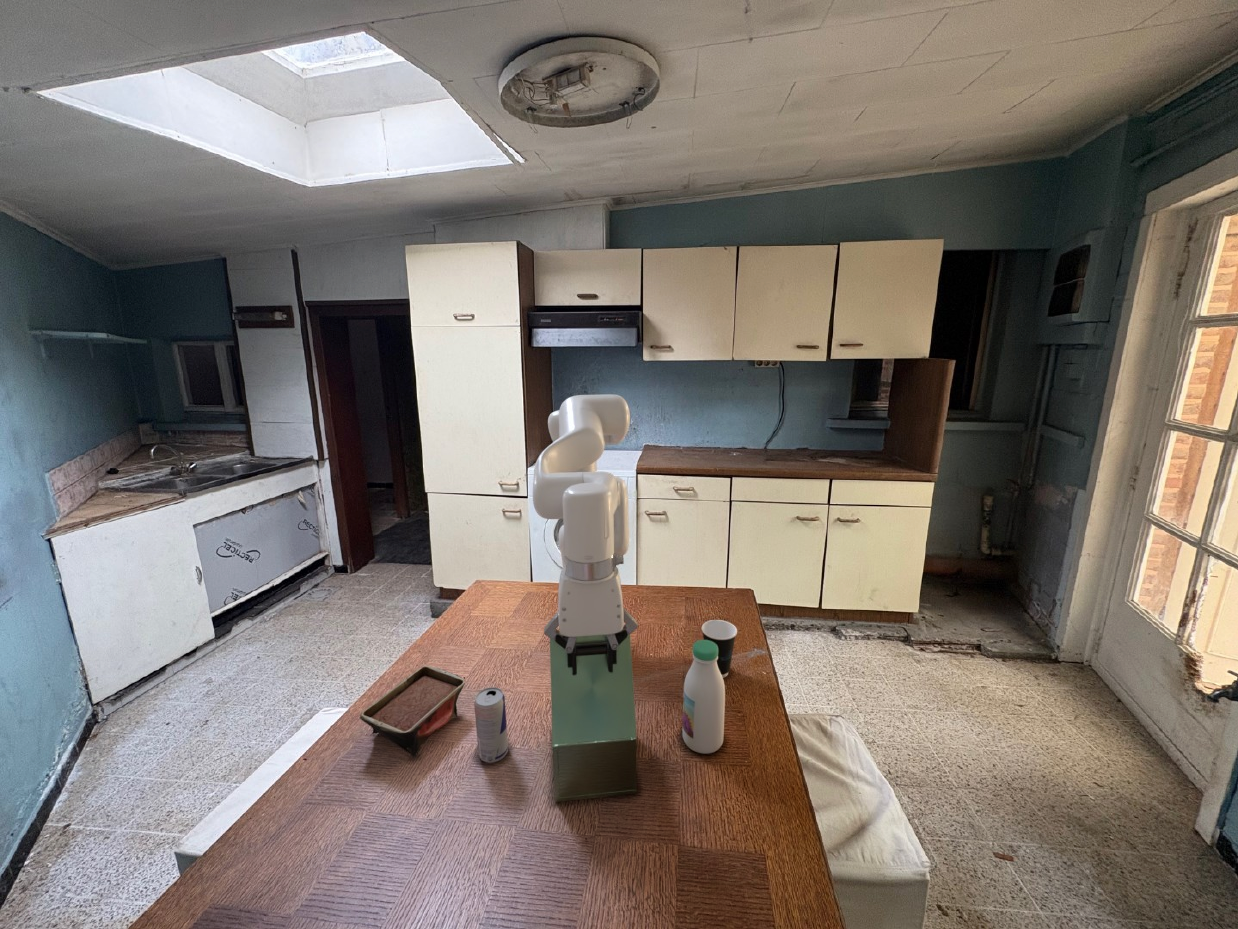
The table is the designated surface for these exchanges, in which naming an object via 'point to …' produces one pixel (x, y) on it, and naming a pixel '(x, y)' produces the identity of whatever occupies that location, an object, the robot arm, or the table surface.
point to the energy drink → (491, 724)
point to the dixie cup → (721, 641)
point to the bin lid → (592, 693)
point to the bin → (594, 769)
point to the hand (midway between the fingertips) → (592, 667)
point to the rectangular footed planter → (415, 707)
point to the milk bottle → (704, 700)
